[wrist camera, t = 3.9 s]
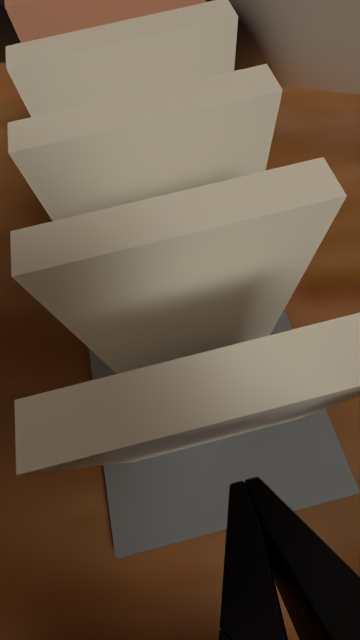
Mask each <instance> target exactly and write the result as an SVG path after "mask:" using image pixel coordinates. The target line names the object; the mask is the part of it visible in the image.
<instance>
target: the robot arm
mask: <svg viewBox="0 0 360 640" xmlns="http://www.w3.org/2000/svg"><path fill="white" fill-rule="evenodd" d="M274 581H275V582H274ZM275 584H276V586H277V588H278V591H279V593H280V595H281V598H282V600H283V602H284V605H285V607H286V609H287V612H288V614H289V616H290V618H291V621H292V623H293V625H294V628H295V630H296V632H297V635H298V637H299V639H300V640H360V577H359V576H358V575H357V574H356V573H355V572H354V571H353V570H352V569H351V568H350V567H349V566H348V565H347V564H346V563H345V562H344V561H343V560H342V559H341V558H340V557H339V556H338V555H337V554H336V553H335V552H334V551H333V550H332V549H331V548H330V547H329V546H328V545H327V544H326V543H325V542H324V541H323V540H322V539H321V538H320V537H319V536H318V535H317V534H316V533H315V532H314V531H313V530H312V529H311V528H310V527H309V526H308V525H307V524H306V523H305V522H304V521H303V520H302V519H301V518H300V517H299V516H298V515H297V514H296V513H295V512H294V511H293V510H292V509H291V508H290V507H289V506H288V505H287V504H286V503H284V502H283V501H282V500H281V499H280V498H279V497H278V496H277V495H276V494H275V493H274V492H273V491H272V490H271V489H270V488H269V487H268V486H267V485H266V484H265V483H264V482H263V481H262V480H261V479H260V478H259V477H253V478H249V479H246V480H245V482H244V481H238V482H234V483H231V484H230V486H229V500H228V514H227V529H226V544H225V558H224V573H223V587H222V602H221V617H220V629H221V630H220V631H219V640H288V638H287V634H286V629H285V625H284V621H283V616H282V612H281V608H280V603H279V599H278V595H277V590H276V586H275Z"/></svg>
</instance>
